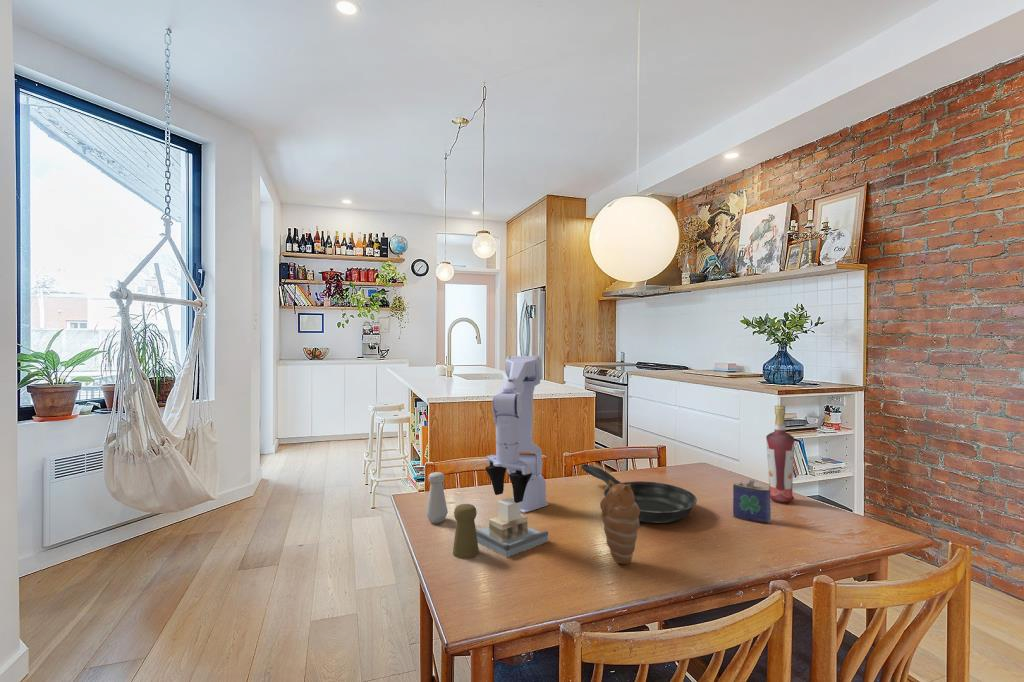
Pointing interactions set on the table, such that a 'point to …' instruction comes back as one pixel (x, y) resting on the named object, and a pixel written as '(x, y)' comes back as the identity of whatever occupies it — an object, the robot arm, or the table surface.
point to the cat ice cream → (620, 521)
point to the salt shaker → (436, 499)
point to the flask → (751, 502)
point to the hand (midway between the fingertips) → (508, 497)
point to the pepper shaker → (465, 532)
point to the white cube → (509, 510)
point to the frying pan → (652, 498)
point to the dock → (512, 541)
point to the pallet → (507, 528)
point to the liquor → (780, 460)
